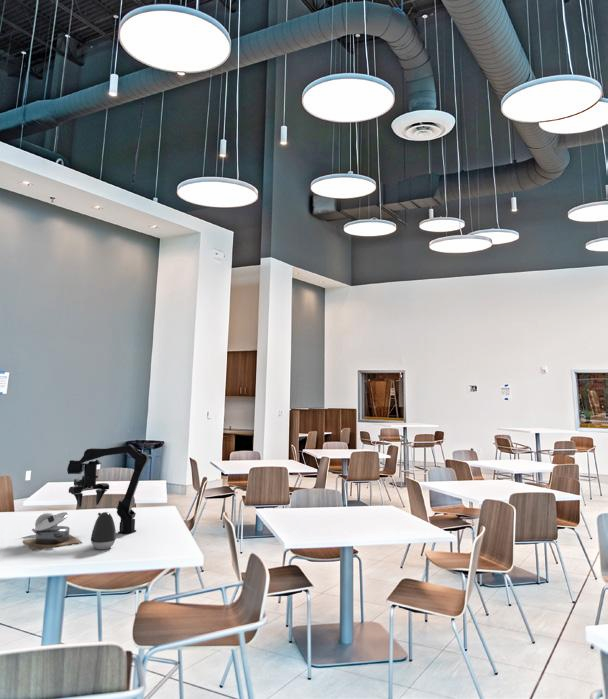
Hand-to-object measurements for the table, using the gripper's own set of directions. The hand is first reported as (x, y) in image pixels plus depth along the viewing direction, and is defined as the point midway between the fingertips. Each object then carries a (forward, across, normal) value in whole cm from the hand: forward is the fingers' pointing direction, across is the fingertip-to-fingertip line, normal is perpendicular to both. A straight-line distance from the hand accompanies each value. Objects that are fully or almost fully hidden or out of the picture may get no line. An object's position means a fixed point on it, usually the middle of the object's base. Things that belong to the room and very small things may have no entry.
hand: (88, 506), depth 250 cm
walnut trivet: (+13, +20, +6) cm, 25 cm away
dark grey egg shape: (+13, +12, +32) cm, 37 cm away
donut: (+13, +14, -13) cm, 23 cm away
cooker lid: (+4, +21, +6) cm, 22 cm away
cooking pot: (+13, +20, +6) cm, 25 cm away
